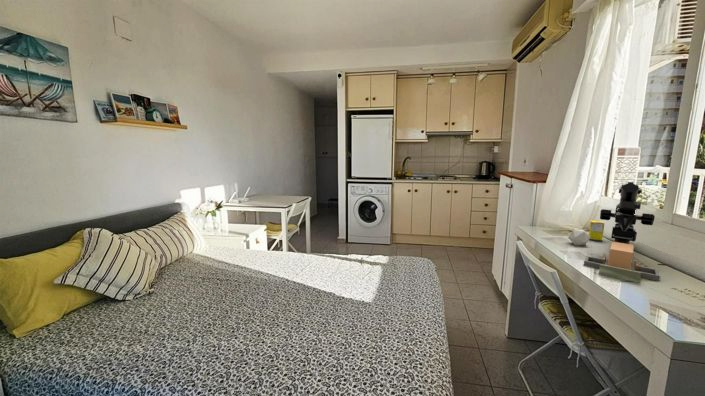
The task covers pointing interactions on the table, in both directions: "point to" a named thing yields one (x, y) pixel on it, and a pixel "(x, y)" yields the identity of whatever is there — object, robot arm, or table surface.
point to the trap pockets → (645, 271)
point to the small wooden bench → (620, 271)
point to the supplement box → (596, 230)
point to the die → (579, 237)
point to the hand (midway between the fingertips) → (623, 231)
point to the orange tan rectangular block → (621, 255)
